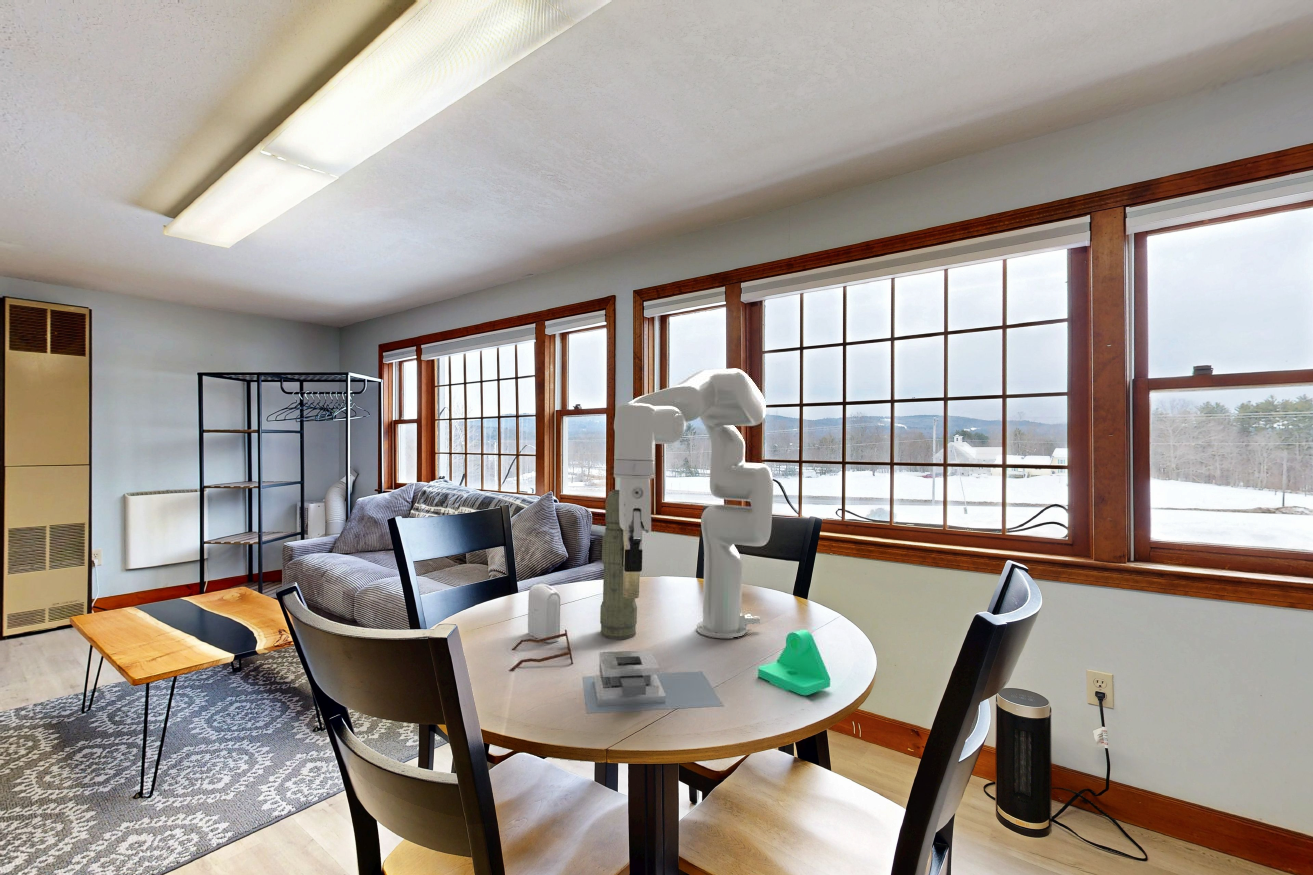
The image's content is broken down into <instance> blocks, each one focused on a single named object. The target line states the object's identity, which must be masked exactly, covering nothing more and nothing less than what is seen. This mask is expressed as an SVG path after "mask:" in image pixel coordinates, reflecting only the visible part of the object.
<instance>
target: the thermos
mask: <svg viewBox="0 0 1313 875" xmlns="http://www.w3.org/2000/svg"><path fill="white" fill-rule="evenodd" d="M619 490H620V489H612V490H611V491H609V492H608V495H607V498H606V501H605V520H604V522H605V528H604V529H605V530H604V531H605V532H604V535H603V538H602V548H601V549H602V550H601V561H602V564H603V581H602V584H603V585H602V587H603V588H602V590H603V591H602V592H603V593H602V602H601V605H600V612H599V613H600V616H599V617H600V618H599V619H600V620H599V621H600V622H599V623H600V635H601V636H602V637H603V638H606V639H611V640H625V639H630V638H633V637H634V636H636V634H637V623H638V605H637V603H636V598H635V599H627V598H624V597H623V571H624V568H623V567H622V546H623V529H622V528H621V527H620V523H619Z"/></svg>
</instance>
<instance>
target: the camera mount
mask: <svg viewBox="0 0 1313 875" xmlns="http://www.w3.org/2000/svg"><path fill="white" fill-rule="evenodd" d="M785 644H786V645H785V647H784V649H783V650H782V651H781V653H780V655H779V657H778V658H777V660H776V661H773V662H770V663H766V664H762V665H760V666H758V667H757V675H758V677H760V678H761V679H763V680H766V681H769V684H772V685H773V686H776V687H779V688H780V689H783V690H786V691H787V692H789V691H791V692H794V693H796V694H798V695H802V696H809V695H811V694H815V693H816V692H817V693H818V692H820V691H823V690H825V689H828V688H830V687H831V678H830V674H829V673H828V670H827V667H826V665H825V663H824V660H823V657H822V656H821V653H820V651H819V649H818V646H817V644H816V641H815V639H814V636H813V635H812V634H811V632H810V631H809V630H807V629H799V630H796V631H792V632H789V633H788V634H787V635H786V637H785Z"/></svg>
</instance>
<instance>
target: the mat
mask: <svg viewBox="0 0 1313 875" xmlns="http://www.w3.org/2000/svg"><path fill="white" fill-rule="evenodd" d="M657 677H658V679H659V682H660V684H661V686H662V688H663V690H664V693H665V695H666V703H649V704H629V705H610V706H598V705H597V699H596V693H595V687H594V675H591V676H589V675H588V676H582V685H583V686H582V687H583V693H584V701H585V710H586V714H601V713H619V712H620V713H621V712H622V713H623V712H624V713H625V712H637V711H639V712H641V711H642V712H643V711H658V710H661V711H662V710H675V709H677V710H678V709H695V708H713V707H715V708H716V707H717V708H718V707H725V704H724V703H723V701H722V700H721V698H720V696H719V695H718V694H717V692H716V691H715V689H714V688H713V686H712V685H711V683H710V682H709V680H708V679H707V677H706V676H705V674H704V672H703V671H685V672H684V671H683V672H681V671H680V672H659V675H657Z"/></svg>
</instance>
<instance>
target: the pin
mask: <svg viewBox="0 0 1313 875" xmlns="http://www.w3.org/2000/svg"><path fill="white" fill-rule="evenodd" d="M629 528H630V525H629ZM629 532H633V529H630V530H629ZM626 536H627V534H626V532H625V531H624V557H625V549H626ZM630 538H631V536H630ZM640 573H641V572H625V570H624V571H623V597H624V598H627V599H635V600H636V599H638V598H640V580H641V577H640Z"/></svg>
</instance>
